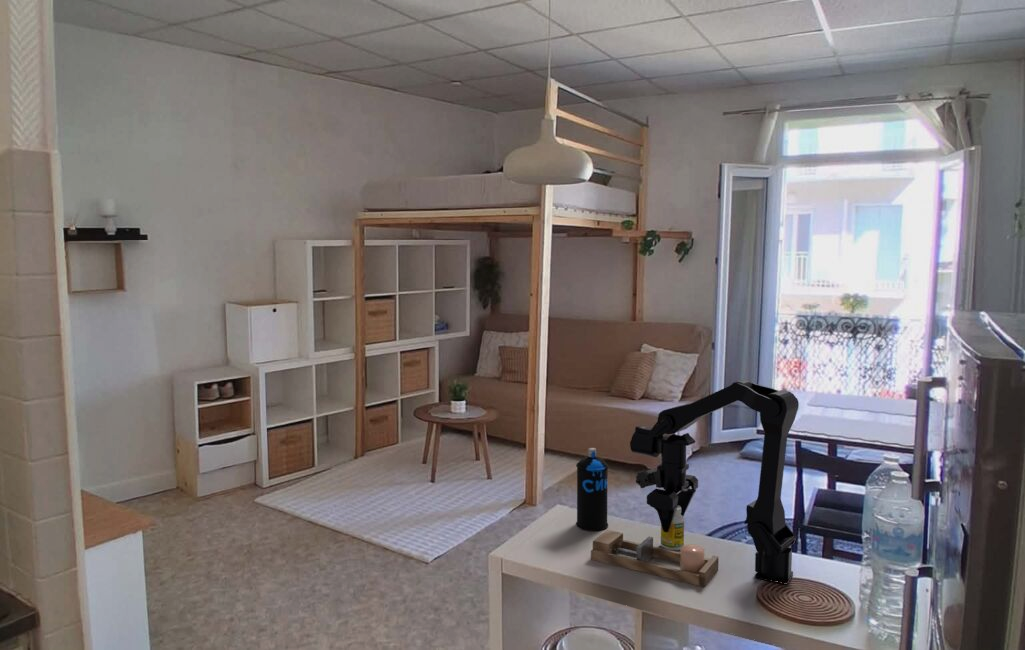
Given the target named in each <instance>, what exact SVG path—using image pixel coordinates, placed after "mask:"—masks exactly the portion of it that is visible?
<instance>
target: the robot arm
mask: <svg viewBox="0 0 1025 650" xmlns="http://www.w3.org/2000/svg"><path fill="white" fill-rule="evenodd" d="M736 402H737V403H738V402H741V403H742V404H744V405H746V407H749V409H752V410H753V411H755V412H758V413H759V420H760V423H761V426H762V429H763V430H762V431H763V434H764V437H763V445H762V453H761V454H762V455H761V466H760V475H759V481H758V493H757V499H755V500H754V501H752V502H750V503H749V504H747V505H746V509H745V510H746V517H745V520H744V524H745V525H746V531H747V534H749V536H750V537H751V538H752V541H753V544H754V548H755V550H756V552H755V554H754V555H755V558H754V560H755V561H754V571H755V572H756V573H755V575H754V577H755V578H756V579H760V580H764V581H768V580H772V581H778V582H782V583H788V582H790V581H789V580H791V579H792V577H793V576H794V571H792V567H793V566H792V563H793V561H792V560H793V548H792V547H791V546H793V545H794V544H795V542H796V540H797V536H796V534H795V533H794V532H793V530H792V529H790V527H789V526H788V525H787V524H786V515H785V514H786V513H785V512H786V511H785V509H784V506H783V502H782V499H781V498H782V487H783V480H784V479H783V478H784V470H785V462H786V461H785V460H786V451H787V443H788V442H787V441H788V436H789V433H790V430H791V429H792V427H793V425H794V422H795V419H796V417H797V414H798V410H799V404H800V403H799V399H798V398H797V397H796V395H795V394H794V393H792V392H791V391H789V390H786V389H785V390H784V389H780V390H778V389H774V388H772V387H768V386H765V385H761V384H757V383H754V382H752V381H749V380H748V379H742V380H738V381H734V382H733V383H732V384H730V385H729V386H726V387H724V388H722V389H720V390H717V391H715V392H713V393H711V394H709V395H706V396H704V397H702V398H699V399H698V400H695V401H693V402H689V403H685V404H681V405H677V406H676V405H675V406H674V407H669V408H667V409H664V410H661V411H659V413H658V414H657V415H658V416H657V422H655V424H654V425H653V427H647V426H644V425H638V426H635V427H634V428H635V429H634V433H632V436H631V440H629V446H630V447H629V448H630V450H631V452H632V453H633V454H637V455H641V456H646V457H652V458H657V457H658V456H659V455H660V456H661V458H660V464H659V465H657V466H656V468H653V469H647V470H646V469H645V470H642V471H641V470H640V471H638V472H637V474H636V476H635V477H636V478H635V479H636V480H635V483H636V484H637V485H638V486H639V487H640V489H645V488H646V487H650V486H654V485H655V488H654V490H651V491H650V492H649V493H648V494H647V495H646V505H648V506H650V507H651V508H653V509H655V511H656V512H657V514H658V518H659V521H660V526H661V525H662V528H663V531H664V532H669V529H670V527H671V524H672V521H673V518H674V516H675V513H676V510H677V507H678V505H679V506H681V515H682V516H683V517H684V516H685V514H686V512H687V510H688V508H689V505H690V503H691V502H692V501H693V500H692V499H693V498H694V495H695V493H696V492H697V489H698V488H699V480H698V478H697V477H696V476H695V475H691V474H687V471H688V469H690V464H688V463H687V447H688V446H691V445H693V444H695V443H696V440H695V439H694V438H693V437H692V436H691V435H690V433H689V432H687V433H683V434H682V435H680V434H676V433H679V432H682V431H685V430H687V429H688V428H690V427H691V426H693V425H694V424H695V423H697V422H698V421H699V420H700V419H701V418H702V417H704V416H707V415H708V414H709V415H710V414H711V413H713V412H715V411H718V410H721V409H724V408H725V407H727V406H729V405H733V404H735V403H736ZM666 434H667V435H669V436H667V435H666ZM772 581H771V582H772ZM788 584H789V583H788Z"/></svg>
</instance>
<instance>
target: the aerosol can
mask: <svg viewBox="0 0 1025 650" xmlns="http://www.w3.org/2000/svg"><path fill="white" fill-rule="evenodd" d="M575 465H576V469H577V470H576V523H575V525H576V528H578V529H580V530H582V531H587V532H600V531H604V530H607V529H608V527H609V524H608V472H609V471H608V468H609V467H610V465H609V464H608V463H607V462H606V461H605V460H604V459H603V458H601V457H600V456H599V457H598V456H597V449H596V447H589V448H588V455H587V456H585V457H583V458H581V459H580V460H579V461H578V462H577V463H576V464H575Z"/></svg>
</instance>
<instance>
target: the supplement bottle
mask: <svg viewBox="0 0 1025 650" xmlns="http://www.w3.org/2000/svg"><path fill="white" fill-rule="evenodd" d="M660 545H661V548H662V549H666V550H671V551H681V546H683V545H685V518H684V516H682V515H681V506H679V505H678V507H677V510H676V513H675V516H674V518H673V521H672V524H671V527H670V529H669V532H664V531H663V528H662V525H661V524H660Z"/></svg>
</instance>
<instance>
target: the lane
mask: <svg viewBox="0 0 1025 650" xmlns="http://www.w3.org/2000/svg"><path fill="white" fill-rule="evenodd" d="M639 544H641V542H640V543H639V542H635V541H630V540H626V539H624V532H619V531H615V530H610V529H605V531H604V532H602V533H600V534H599V535H598V536H597V537H595V538H594V539H593V540H592V549H591V550H590V560H594V561H596V562H601V563H605V564H608V565H614V566H617V567H622V568H626V569H630V570H634V571H638V572H642V573H646V574H651V575H654V576H659V577H662V578H666V579H670V580H675V581H678V582H679V581H680V582H682V583H683V582H684V583H688V584H689V585H695V586H698V587H699V586H700V587H703V588H705V587H706V586H707V585H708V583H709V582H710V581H711V579H712V578H713V577H714V576H715V574H717V572H718V571H719V556H717V555H712V556H711V557H710V558H706V557H705V561H704V566H703V568H702V569H701V570H700V571H699V574H695V573H690V572H686V571H682V570H680V569H677V568H673V567H670V566H664V565H661V564H660V565H659V564H655V563H651V562H649V561H648V562H644V561H640V560H636V558H632V557H628V556H624V555H620V554H614V553H612V551H617V549H618V548H623V549H628V550H632V551H637V546H638V545H639ZM653 557H654V558H658V559H662V560H667V561H671V562H675V563H679V564H680V558H681V551H676V550H668V549H665V548H663V547H657V546H653ZM653 557H652V558H653Z"/></svg>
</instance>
